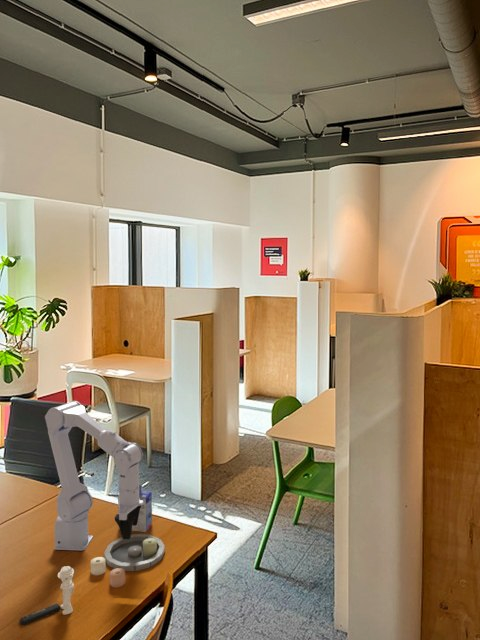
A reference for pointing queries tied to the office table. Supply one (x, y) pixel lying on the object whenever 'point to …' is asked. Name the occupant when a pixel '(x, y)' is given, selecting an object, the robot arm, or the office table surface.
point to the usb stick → (39, 614)
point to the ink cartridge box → (143, 512)
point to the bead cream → (98, 566)
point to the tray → (132, 553)
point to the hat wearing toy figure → (66, 588)
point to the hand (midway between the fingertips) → (130, 531)
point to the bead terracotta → (117, 577)
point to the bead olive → (149, 547)
